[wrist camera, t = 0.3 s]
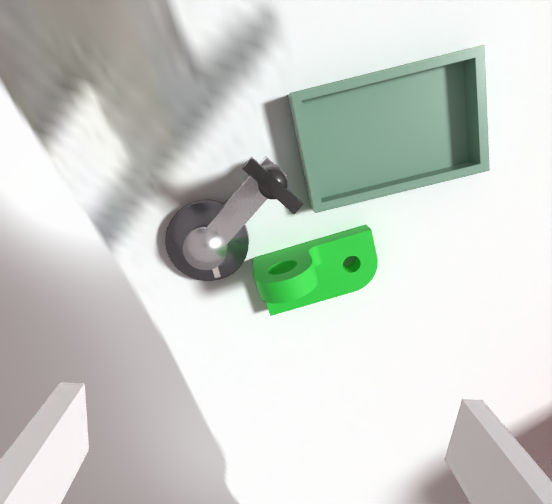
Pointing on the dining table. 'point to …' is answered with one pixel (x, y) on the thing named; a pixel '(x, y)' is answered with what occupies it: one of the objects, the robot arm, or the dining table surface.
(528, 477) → the robot arm
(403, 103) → the tray
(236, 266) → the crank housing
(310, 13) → the dining table surface
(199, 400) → the dining table surface
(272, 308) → the mechanical part
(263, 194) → the crank
